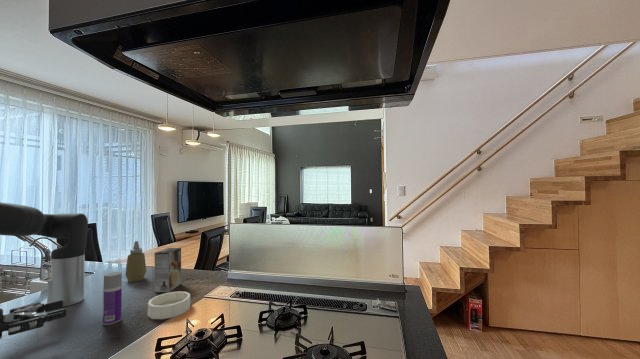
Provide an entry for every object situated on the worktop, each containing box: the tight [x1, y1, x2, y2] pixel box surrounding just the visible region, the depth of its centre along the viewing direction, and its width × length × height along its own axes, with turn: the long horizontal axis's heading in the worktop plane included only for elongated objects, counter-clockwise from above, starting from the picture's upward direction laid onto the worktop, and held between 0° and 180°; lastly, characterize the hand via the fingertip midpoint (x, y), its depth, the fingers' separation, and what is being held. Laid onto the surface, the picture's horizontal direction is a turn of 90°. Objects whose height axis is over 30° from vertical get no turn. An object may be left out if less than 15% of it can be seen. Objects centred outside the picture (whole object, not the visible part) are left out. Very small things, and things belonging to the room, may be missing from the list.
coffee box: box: [154, 247, 182, 293], centre depth 113 cm, size 9×6×16 cm
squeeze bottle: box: [124, 240, 147, 283], centre depth 123 cm, size 8×8×18 cm
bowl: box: [147, 290, 191, 320], centre depth 92 cm, size 13×13×4 cm
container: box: [102, 271, 123, 326], centre depth 85 cm, size 5×5×15 cm
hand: (64, 307), depth 76 cm, fingers open, 8 cm apart
